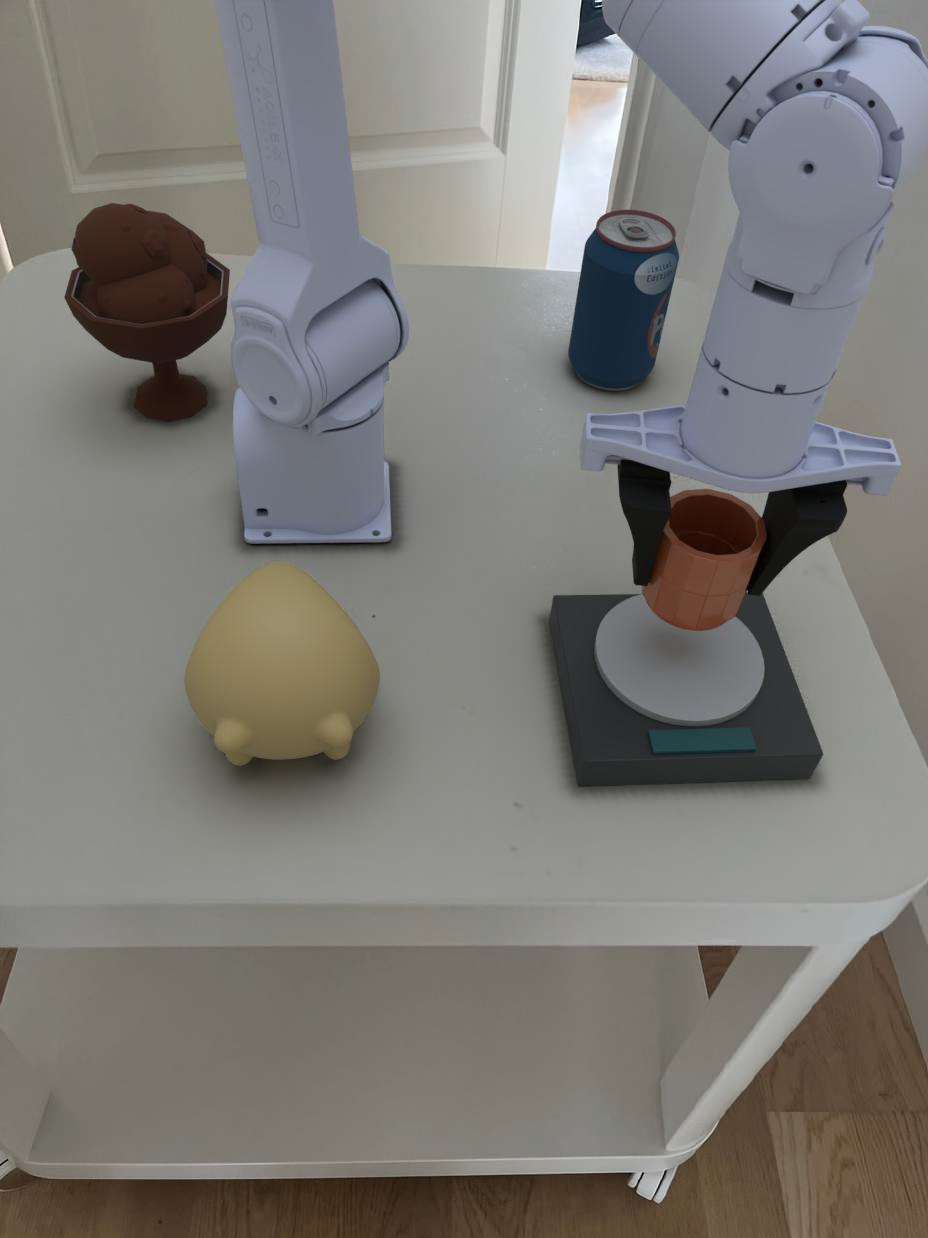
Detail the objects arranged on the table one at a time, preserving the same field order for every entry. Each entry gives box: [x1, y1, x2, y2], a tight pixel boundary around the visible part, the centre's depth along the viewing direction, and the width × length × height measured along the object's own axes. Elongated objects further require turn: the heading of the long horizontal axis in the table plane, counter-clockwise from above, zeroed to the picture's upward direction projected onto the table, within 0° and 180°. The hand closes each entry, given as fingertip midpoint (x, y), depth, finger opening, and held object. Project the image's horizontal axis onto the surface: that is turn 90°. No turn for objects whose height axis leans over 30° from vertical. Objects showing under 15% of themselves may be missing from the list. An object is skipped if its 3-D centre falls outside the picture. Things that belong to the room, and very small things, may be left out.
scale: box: [548, 591, 824, 787], centre depth 57 cm, size 13×12×3 cm
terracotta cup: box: [641, 488, 767, 631], centre depth 53 cm, size 5×6×5 cm
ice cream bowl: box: [64, 202, 231, 422], centre depth 69 cm, size 11×11×15 cm
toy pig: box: [183, 560, 381, 767], centre depth 53 cm, size 10×12×11 cm
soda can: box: [567, 209, 680, 392], centre depth 76 cm, size 7×7×12 cm
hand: (696, 577), depth 53 cm, fingers closed on terracotta cup, 5 cm apart
